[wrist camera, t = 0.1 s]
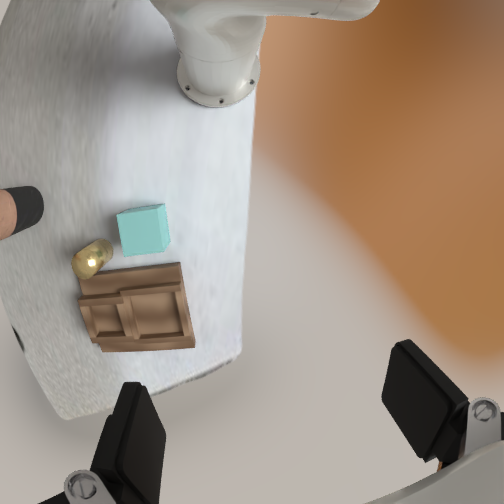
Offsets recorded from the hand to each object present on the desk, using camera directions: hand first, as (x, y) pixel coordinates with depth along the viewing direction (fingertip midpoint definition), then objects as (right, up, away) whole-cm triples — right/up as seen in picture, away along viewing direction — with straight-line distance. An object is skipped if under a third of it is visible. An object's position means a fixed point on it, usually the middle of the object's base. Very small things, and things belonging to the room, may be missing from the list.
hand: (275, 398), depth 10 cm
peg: (-25, +6, +34) cm, 43 cm away
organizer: (-21, -5, +37) cm, 43 cm away
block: (-17, +9, +34) cm, 39 cm away
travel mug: (-40, +14, +30) cm, 52 cm away
